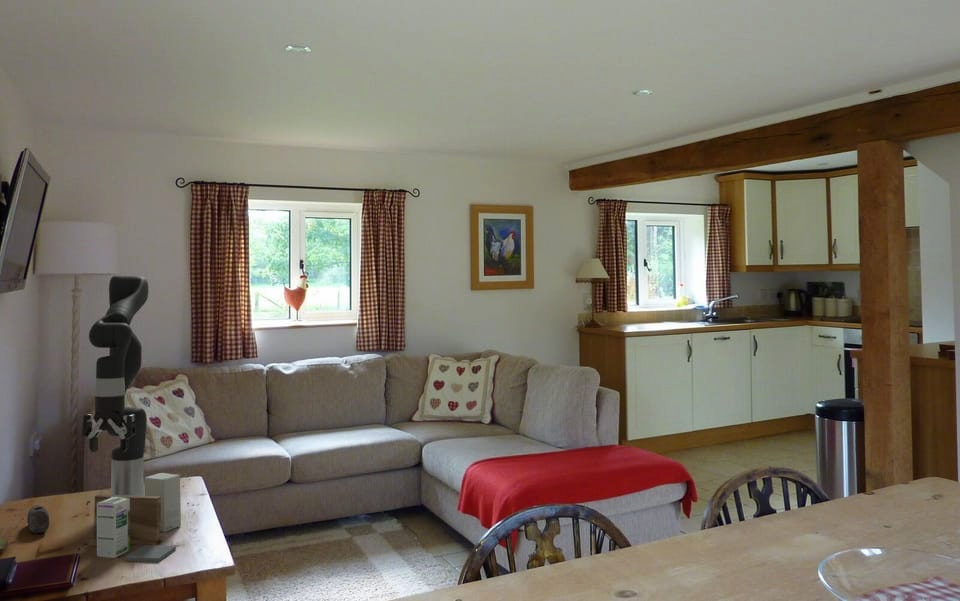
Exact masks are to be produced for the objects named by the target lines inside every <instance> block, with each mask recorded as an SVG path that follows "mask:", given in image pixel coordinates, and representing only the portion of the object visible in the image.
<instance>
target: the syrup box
mask: <svg viewBox="0 0 960 601" xmlns="http://www.w3.org/2000/svg"><path fill="white" fill-rule="evenodd" d="M130 547H131V544H130V499H129V498H124V497H111V498H109V499H107V500H104V501H102V502H98V503H97V546H96V556H97V557H99V558H100V557H101V558H106V559H117V558H118V557H119V556H122V555H125V554H126V553H128V552H130V551H131V548H130Z"/></svg>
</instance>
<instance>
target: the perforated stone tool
mask: <svg viewBox="0 0 960 601" xmlns="http://www.w3.org/2000/svg"><path fill="white" fill-rule="evenodd" d="M50 520H51V519H50V515H49V511H48V510H47V508H46V507H44V506H42V505H40V504H37V505H34V506H32V507H30V509H29V510H28V512H27V518H26V521H27V522H26V523H27V526H28V529H29V531H31V532H32V533H33V534H39V533H40V534H41V533H45V532H47V530H48V529H49V527H50Z"/></svg>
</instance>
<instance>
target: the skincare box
mask: <svg viewBox="0 0 960 601" xmlns="http://www.w3.org/2000/svg"><path fill="white" fill-rule="evenodd" d="M143 478H144V496H161V531H160V532H163V533H165V532H168V531H172V530H174V528H175V529H177V528H180V527H181V526H182V514H181V510H182V508H181V474H176V473H175V474H174V473H167V472H166V473H165V472H160V473H159V472H158V473H156V474H152V475H149V476H145V477H143Z"/></svg>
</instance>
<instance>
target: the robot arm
mask: <svg viewBox="0 0 960 601" xmlns="http://www.w3.org/2000/svg"><path fill="white" fill-rule="evenodd" d="M149 290H150V289H149V283H148V280H147V279H146V277H144V276H138V275H113V276H112V277H111V278H110V280H109V285H108V297H109V299H108V301H109V303H108V304H109V307H108V309H107V311H106V313H105V315H104V316H102V317H101V318H100V319H98V320H97V321H95V322H94V323H93V325H92V326H91V328H90V330H89V333H88V339H89V342H90V344H91V345H92V346H94V347H95V348H98V349H99V348H100V349H109V351H108V352H109V355H106V356H102V357H101V356H100V357H99V358H97V360H96V363H95V384H94V407H93V408H94V409H93V410H94V414H93V413H87V414H85V415H83V417H82V418H83V419H82V432H81V435H82V436H83V437H87V438H88V439H89V441H88V442H89V450H90V452H91V453H96V452H98V451H99V437H98V436H99V434H100V433H101V432H102V431H105V432H106V431H107V433H108V435H109V436H111V437H120V439H119V440H120V441H119V442H120V446H118V447H115V448H114V449H112V451H111V463H110V464H111V466H110V468H111V469H110V470H111V471H110V472H111V474H110V475H111V478H110V479H111V480H110V483H111V484H110V486H111V487H110V495H134V496H145V483H144V478H145V477H144V464H145V463H144V460H145V458H144V453H145V448H146V441H147V440H146V437H147V427H148V426H147V424H148V419H147V417H148V416H147V413H146V411H145V409H144V408H142V407H133V406H131V407H130V406H129V407H127V406H126V405H125V404H126V402H125V401H126V394H127V393H126V392H127V390H128V388H129V387H130V385H131V383H132V382H133V381H134V379H135V378H136V376H137V375H138V373H139V371H140V370H141V367H142V352H143V351H142V349H143V348H142V343H141V342H140V340H139V338H138V336H137V335H136V333H135V332H134V331H133V329H132V328H131V327H130V325H131V323H132V321H133V318H134V316H135V315H136V314H137V313H138V312H139V311H140V309H141V308H142V307H143V306H144V305H145V303H146V302H147V300H148V298H149V292H150V291H149ZM93 422H95V423H96V424H95V425H94V426H93Z"/></svg>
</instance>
